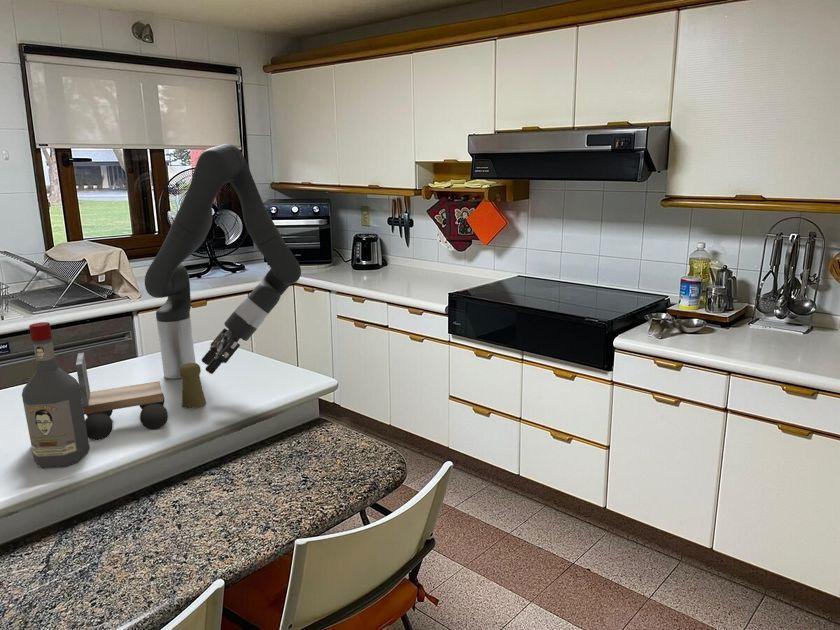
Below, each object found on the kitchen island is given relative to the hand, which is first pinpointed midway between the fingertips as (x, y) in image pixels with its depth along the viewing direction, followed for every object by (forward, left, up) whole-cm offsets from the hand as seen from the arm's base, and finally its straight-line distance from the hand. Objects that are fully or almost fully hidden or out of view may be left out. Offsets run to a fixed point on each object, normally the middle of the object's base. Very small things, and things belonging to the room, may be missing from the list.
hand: (206, 367), depth 167 cm
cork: (0, -4, -10) cm, 10 cm away
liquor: (+20, -33, -10) cm, 40 cm away
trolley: (+6, -20, -9) cm, 23 cm away
